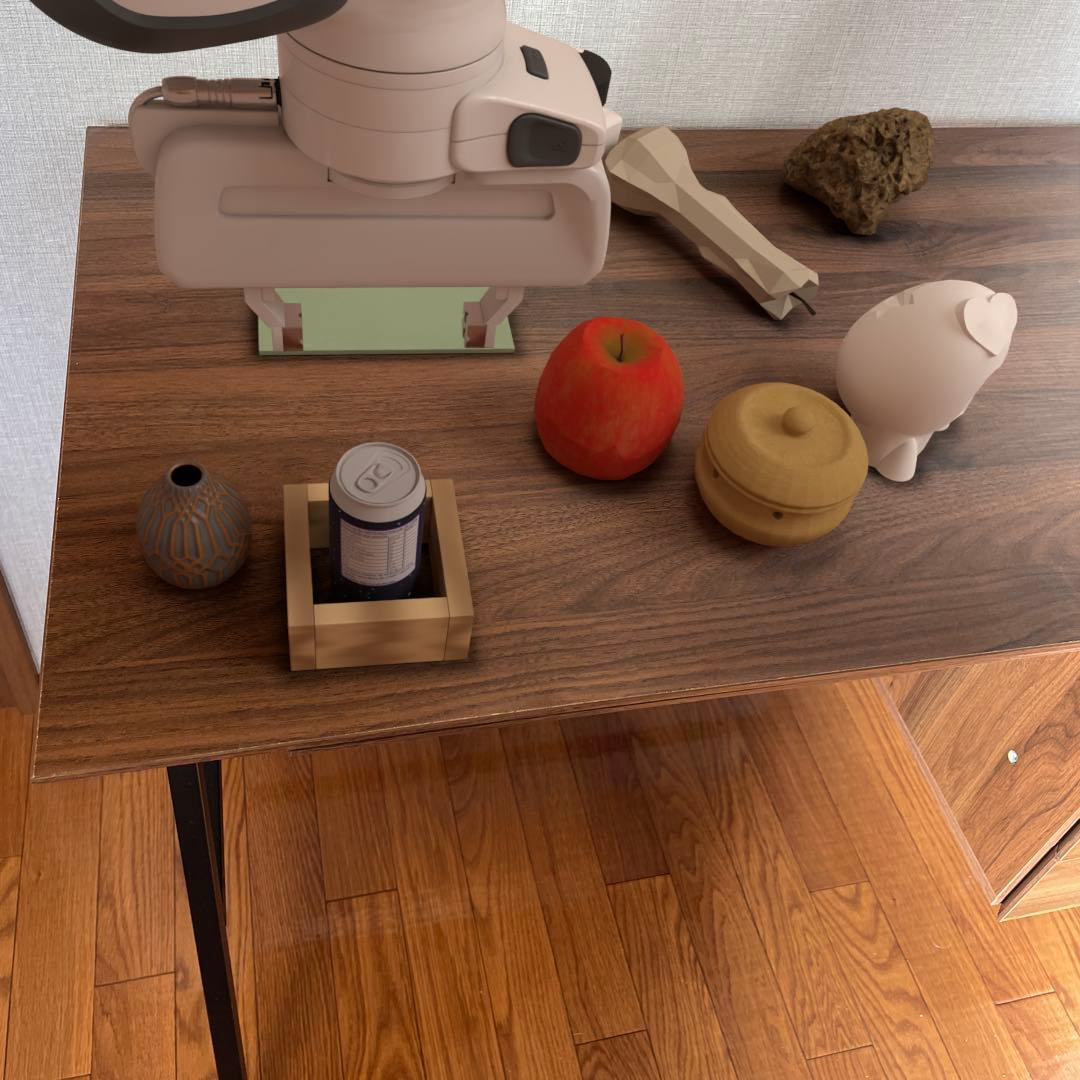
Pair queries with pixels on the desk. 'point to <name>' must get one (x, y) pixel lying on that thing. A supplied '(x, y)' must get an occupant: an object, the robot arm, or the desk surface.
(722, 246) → the faceted club
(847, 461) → the pot
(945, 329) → the figurine
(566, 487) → the desk surface
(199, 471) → the vase
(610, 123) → the medicine bottle
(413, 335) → the mat
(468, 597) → the holder
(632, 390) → the apple
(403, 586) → the beverage can
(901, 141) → the brown porous lump
